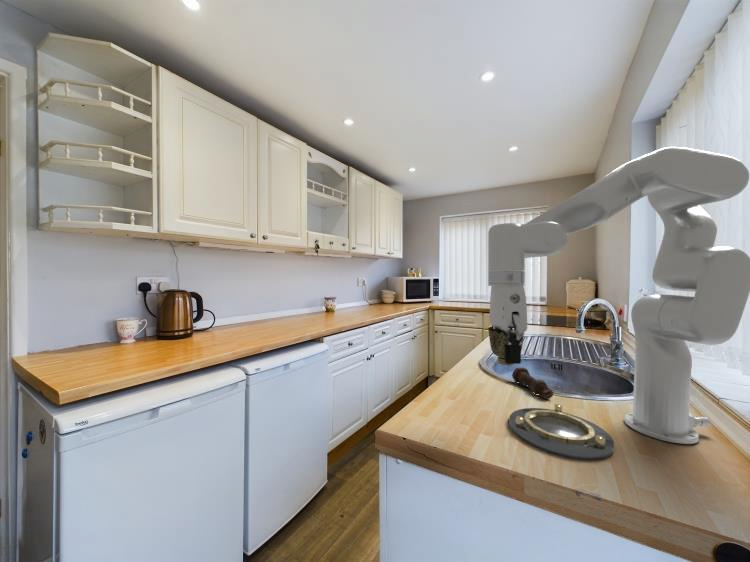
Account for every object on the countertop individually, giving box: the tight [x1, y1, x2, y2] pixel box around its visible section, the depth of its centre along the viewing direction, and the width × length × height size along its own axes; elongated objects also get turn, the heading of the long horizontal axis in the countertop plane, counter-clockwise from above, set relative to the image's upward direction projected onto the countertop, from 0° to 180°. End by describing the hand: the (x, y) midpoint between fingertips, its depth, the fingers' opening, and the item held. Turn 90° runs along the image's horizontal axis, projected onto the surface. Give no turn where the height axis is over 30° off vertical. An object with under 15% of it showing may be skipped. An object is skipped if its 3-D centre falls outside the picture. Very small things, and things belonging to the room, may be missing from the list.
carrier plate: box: [508, 403, 615, 461], centre depth 68 cm, size 20×20×3 cm
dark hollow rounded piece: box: [487, 326, 525, 366], centre depth 68 cm, size 8×7×8 cm
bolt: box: [511, 367, 554, 400], centre depth 94 cm, size 6×5×15 cm
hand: (505, 357), depth 68 cm, fingers closed on dark hollow rounded piece, 6 cm apart
